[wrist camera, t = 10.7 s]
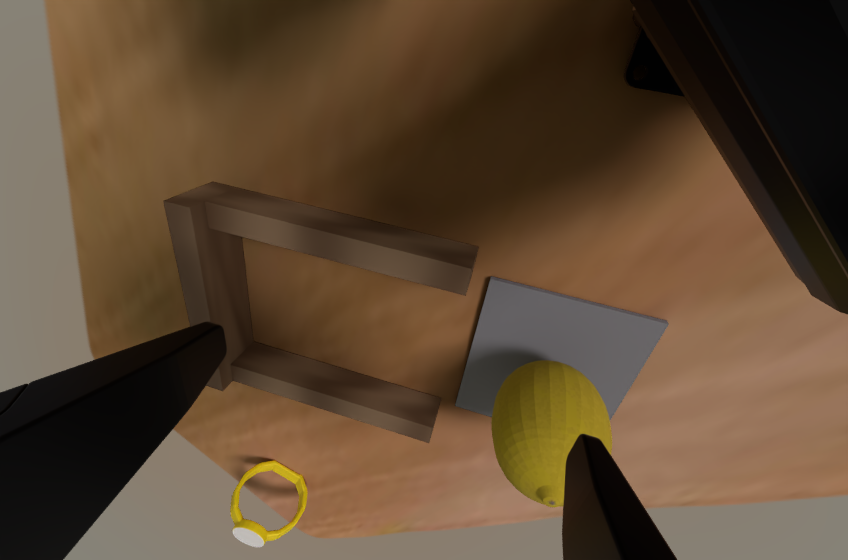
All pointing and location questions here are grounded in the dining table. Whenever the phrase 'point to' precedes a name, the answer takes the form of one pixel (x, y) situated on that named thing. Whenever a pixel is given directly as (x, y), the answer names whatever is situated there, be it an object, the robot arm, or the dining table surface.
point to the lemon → (545, 426)
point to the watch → (253, 531)
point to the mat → (554, 342)
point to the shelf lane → (319, 236)
